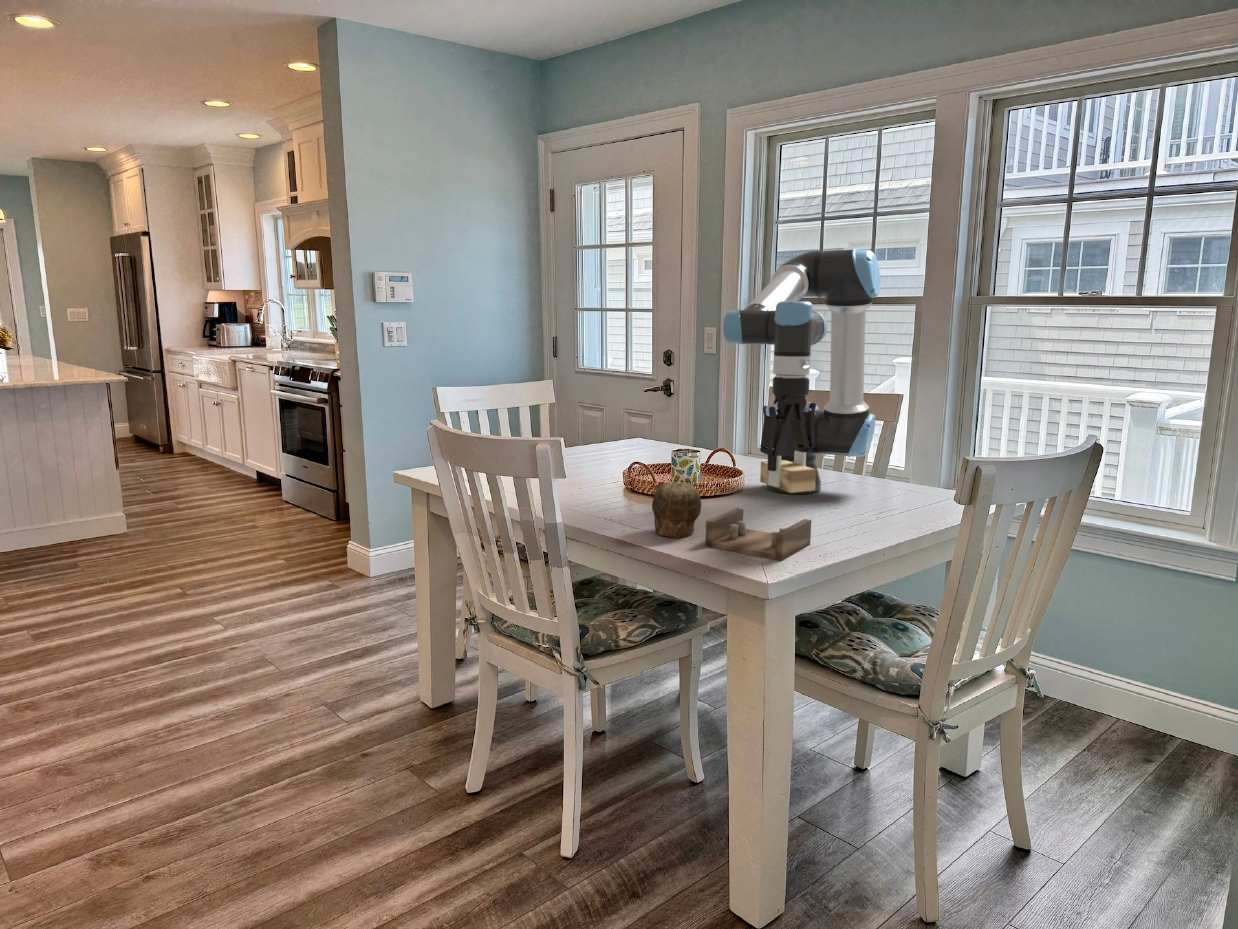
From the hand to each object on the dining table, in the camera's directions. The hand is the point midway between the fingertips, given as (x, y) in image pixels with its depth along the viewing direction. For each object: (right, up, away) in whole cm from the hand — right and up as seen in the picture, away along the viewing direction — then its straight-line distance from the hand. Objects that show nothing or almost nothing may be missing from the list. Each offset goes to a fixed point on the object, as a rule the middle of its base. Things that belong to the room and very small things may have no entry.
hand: (786, 483), depth 179 cm
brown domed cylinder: (-23, -12, +10) cm, 28 cm away
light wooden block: (0, -1, 0) cm, 1 cm away
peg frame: (-6, -13, +2) cm, 15 cm away
